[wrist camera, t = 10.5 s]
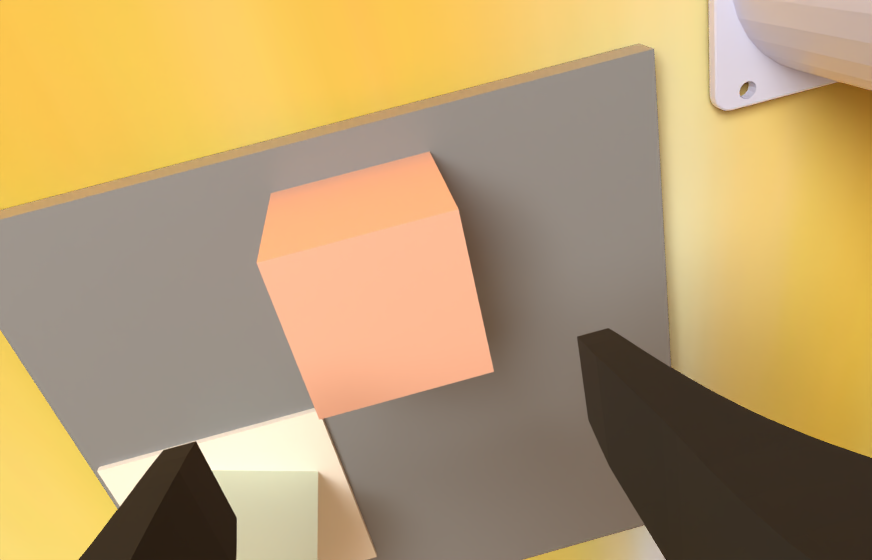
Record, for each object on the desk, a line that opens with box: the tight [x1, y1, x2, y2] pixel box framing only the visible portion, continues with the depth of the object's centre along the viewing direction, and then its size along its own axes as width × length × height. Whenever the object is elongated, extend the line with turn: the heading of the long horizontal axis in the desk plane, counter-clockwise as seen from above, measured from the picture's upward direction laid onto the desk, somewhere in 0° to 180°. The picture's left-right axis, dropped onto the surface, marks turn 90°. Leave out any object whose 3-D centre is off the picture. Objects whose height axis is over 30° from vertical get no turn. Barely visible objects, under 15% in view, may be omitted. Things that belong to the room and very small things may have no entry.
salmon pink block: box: [257, 151, 494, 420], centre depth 18 cm, size 5×5×4 cm
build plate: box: [0, 44, 671, 560], centre depth 23 cm, size 20×19×1 cm
